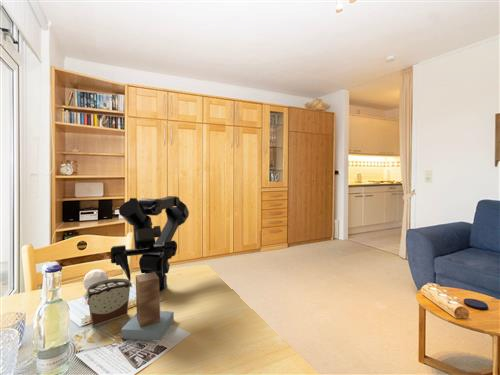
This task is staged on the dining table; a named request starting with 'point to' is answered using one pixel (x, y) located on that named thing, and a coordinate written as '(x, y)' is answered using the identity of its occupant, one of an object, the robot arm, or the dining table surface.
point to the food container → (108, 300)
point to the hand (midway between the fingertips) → (147, 277)
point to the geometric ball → (94, 277)
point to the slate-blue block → (148, 328)
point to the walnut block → (147, 299)
